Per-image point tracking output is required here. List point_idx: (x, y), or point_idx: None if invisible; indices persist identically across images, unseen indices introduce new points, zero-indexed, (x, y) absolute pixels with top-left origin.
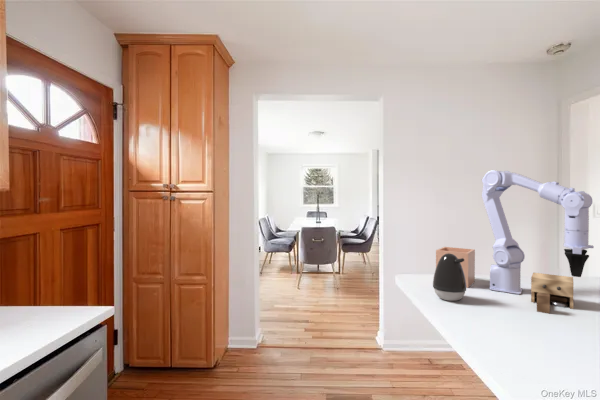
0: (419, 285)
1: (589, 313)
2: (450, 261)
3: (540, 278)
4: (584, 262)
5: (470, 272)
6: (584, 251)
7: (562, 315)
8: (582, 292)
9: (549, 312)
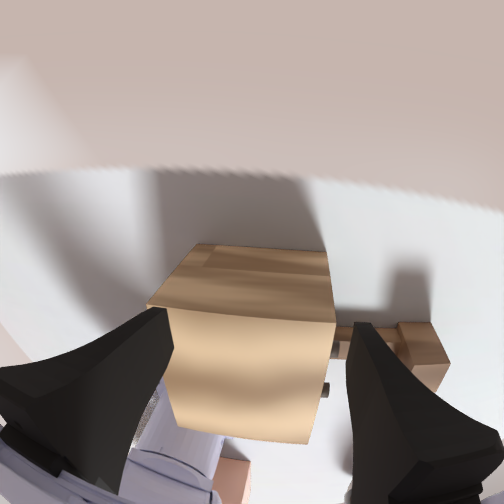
0: (296, 500)
1: (358, 201)
2: None
3: (309, 425)
4: (448, 406)
5: (212, 487)
6: (45, 419)
7: (434, 290)
8: (39, 205)
9: (422, 323)
